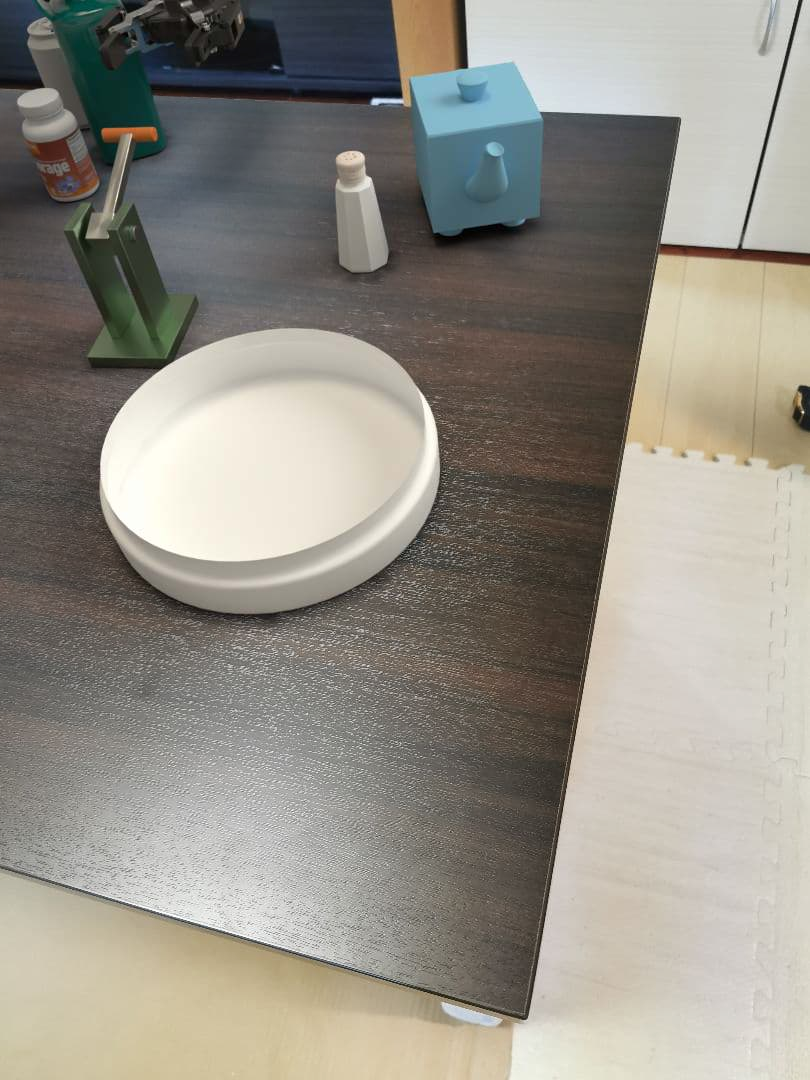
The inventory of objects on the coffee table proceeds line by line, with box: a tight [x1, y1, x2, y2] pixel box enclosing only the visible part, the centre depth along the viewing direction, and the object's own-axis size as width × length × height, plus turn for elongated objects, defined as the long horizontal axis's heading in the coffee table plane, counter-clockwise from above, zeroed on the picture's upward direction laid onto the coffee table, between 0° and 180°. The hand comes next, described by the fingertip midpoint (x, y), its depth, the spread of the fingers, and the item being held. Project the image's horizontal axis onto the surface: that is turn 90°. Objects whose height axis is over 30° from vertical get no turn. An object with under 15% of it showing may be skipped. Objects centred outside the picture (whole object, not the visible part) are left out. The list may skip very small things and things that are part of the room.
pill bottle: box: [16, 87, 100, 203], centre depth 98 cm, size 6×6×11 cm
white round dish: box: [99, 327, 441, 615], centre depth 67 cm, size 27×27×6 cm
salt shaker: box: [334, 150, 390, 274], centre depth 84 cm, size 5×5×11 cm
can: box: [26, 16, 90, 130], centre depth 110 cm, size 8×8×12 cm
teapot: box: [408, 61, 544, 237], centre depth 86 cm, size 22×11×14 cm, turn 7°
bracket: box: [62, 201, 200, 369], centre depth 78 cm, size 10×8×13 cm
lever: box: [86, 127, 157, 257], centre depth 76 cm, size 13×5×2 cm, turn 172°
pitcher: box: [31, 0, 168, 165], centre depth 100 cm, size 10×8×22 cm
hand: (148, 59), depth 81 cm, fingers open, 8 cm apart
